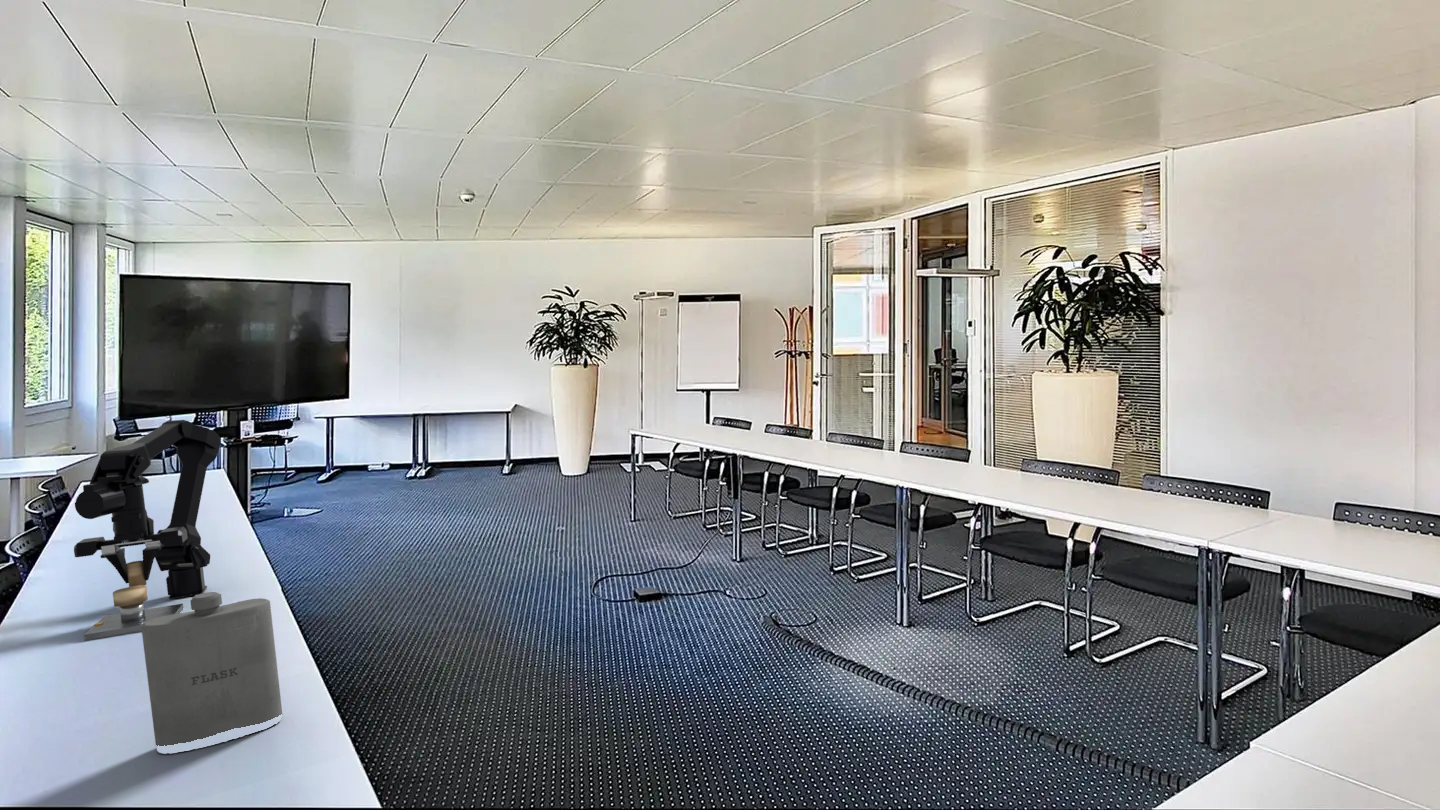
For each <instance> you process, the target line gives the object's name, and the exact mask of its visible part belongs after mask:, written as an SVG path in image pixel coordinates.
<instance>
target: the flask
mask: <svg viewBox="0 0 1440 810" xmlns="http://www.w3.org/2000/svg"><path fill="white" fill-rule="evenodd" d="M222 599H223V598H222V594H220V593H219V592H217V591H209V592H204V593H202V594H199V595H194V596H192V598H191V599H190V609H191V610H192V611H187V612H181V613H179V614H173V615H167V616H162V617H158V618H155V619H152V620H150V621H147V622H146V623H144V624H143V625H142V626H141V629H142V631H141V636H142V644H143V652H144V658H145V659H144V661H145V668H146V676H147V677H146V678H147V683H148V692H149V700H150V709H151V716H152V717H151V718H152V726H153V733H154V742H155V746H156V745H157V746H158V745H159V746H164V745H165V746H167V745H174V744H178V743H186V742H191V741H194V740H197V739H203V738H206V737H209V736H213V735H216V734H217V733H221V732H225V731H228V730H231V729H234V728H241V727H246V726H250V725H255V724H260V723H263V722H266V721H268V720H271V719H273V718H275V717H278V716H279V715H281V714H282V715H283V709H282V707H283V706H282V698H281V697H282V696H281V691H280V690H281V688H280V680H279V679H280V678H279V673H278V672H279V671H278V663H277V660H278V659H277V652H276V644H275V634H274V625H273V617H272V609H271V608H272V607H271V600H269V599H266V598H262V597H260V598H251V599H245V600H241V601H236V602H232V603H228V604H224V605H223V604H222V603H223V600H222Z"/></svg>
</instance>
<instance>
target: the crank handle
mask: <svg viewBox="0 0 1440 810" xmlns="http://www.w3.org/2000/svg"><path fill="white" fill-rule="evenodd" d="M126 566H127V574H128V582H129V583H128V586H127V587H123V588H120V589H116V590H114V591H112V598H113V599H112V600H113V606H114V607H121V606H129V605H134V604H138V603H141V602H143V603H144V602H145V601H146V602H147V601H148V600H149V596H148V589H147V581H145V578H144V570H143V560H135V561H130V562H126Z"/></svg>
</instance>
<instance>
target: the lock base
mask: <svg viewBox="0 0 1440 810" xmlns="http://www.w3.org/2000/svg"><path fill="white" fill-rule="evenodd" d="M183 608H185V607H184V603H177V604H172V605H170V604H169V605H165V606H158V607H153V608H152V607H151V608H145V605H144V602H141V603H138V604H134V605H129V606H121V607H119V613H114V614H108V615H107V614H106V615H103V616H102V618H101V619H99V620H98V621H97V622H95V623H94V624H93V626H92V627H91V628H90V629H88V631H87V632H85V633H84V635H83V637H84V642H85V641H90V640H91V641H92V640H97V639H103V638H111V637H115V636H121V635H127V634H135V633H139V632H142V629H141V626H142V625H143V624H144V623H146V622H147V621H150V620H152V619H155V618H158V617H162V616H167V615H173V614H179V613H180V612H181V611H182V612H183V611H184V609H183ZM182 612H181V613H182Z"/></svg>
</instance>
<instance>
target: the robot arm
mask: <svg viewBox="0 0 1440 810" xmlns="http://www.w3.org/2000/svg"><path fill="white" fill-rule="evenodd" d="M221 443H222V438H221V436H220V435H219V434H218V433H217V432H216V431H215V430H214V429H211V428H208V427H204V426H201V425H198V424H194V423H193V422H191V421H189V420H186V419H176V420H166V421H165V422H163V423H162V424H161V425H160V426H159V427H157V428H155V429H154V430H152V431H150V432H149V433H147V434H146V435H143V436H142V437H141V438H139V439H137V440H136V441H134V442H133V443H130V444H127V445H122V446H117V447H113V448H111V449H108V450H105V451H103V452H102V454H101V455H100V457H99V459H98V462H97V464H96V466H95V469H94V472H93V475H92V477H91V480H90V482H89V483H88V484H84V485H83V486H82V488H83V489H82V490H83V491H82V492H80V493H79V494H78V496H77V497H76V499H75V502H74V508H75V511H76V513H77V514H78V515H79V516H81V517H82V518H84V519H87V520H93V519H96V518H100V517H104V516H107V515H111V523H112V531H113V533H114V536H113V538H112V539H105V537H104V536H98V537H88V538H84V539H81V540H80V541H79V542H76V543H75V545H74V546H73V554H74V558H85V557H91V556H95V554H96V553H97V552H98V551H100V552H101V555H99V557H100V559H106V560H107V561H108V562H109V563H110V564H111V565H112V566H113V567H114V568H115V570H116V571H117V573H118V574H119V576H120V577H121V579H122V580H123V582H125V584H129V582H128V574H127V566H126V564H127V561H126V553H125V551H126V550H125V549H126V547H131V546H133V547H134V546H141V545H144V546H145V548H144V549H142V551H141V552H142V561H143V570H144V578H145V581H146V582H147V581H149V579H150V575H151V571H152V567H153V565H154V560H155V561H156V564H157V566H158V568H159V571H160V572H166V571H167V573H168V576H167V577H166V578H165V581H166V590H167V595H168V598H169V600H173V599H174V600H176V599H181V598H186V597H194V596H196V595H199V594H202V593H205V591H206V590H207V589H208V586H207V585H206V582H205V576H204V575H205V574H204V568H206V567H207V566H208V565H210V564H211V563H210V562H211V553H209V551H207V550H206V549H205V548H204V547H203V546H202V544H201V542H202V538H201V535H200V533H199V531H198V529H197V527H196V525H197V519H198V514H199V509H200V503H201V500H202V495H203V489H204V483H205V478H206V473H207V469H208V468H209V466H210V465H211V464H212V463H213V462H214V460H216V458H218V457H217V456H218V454H219V451H220V447H221V445H222V444H221ZM171 446H172V447H174V448H176V455H177V457H178V458H179V461H180V463H181V469H180V473H179V474H180V475H179V479H178V485H177V489H176V493H175V499H174V503H173V508H172V513H171V518H170V522H169V525H168V526H167V527H166V528H164V529H159V530H158V531H157V532H156V533H155V529H154V528H155V527H154V526H155V525H154V522H155V521H154V519H153V518H151V517H149V515H148V512H147V509H146V505H145V494H144V488H143V485H145V484H149V482H150V480H149V479H148V478H146V477H144V476H143V473H144V472H145V471H147V469H148V468H149V467H150V466H151V465H152V464H151V463H152V461H151V460H152V459H154V458H155V457H157V455H159V454H161V453H162V452H164V451H165V450H167V449H168V448H169V447H171Z"/></svg>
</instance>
